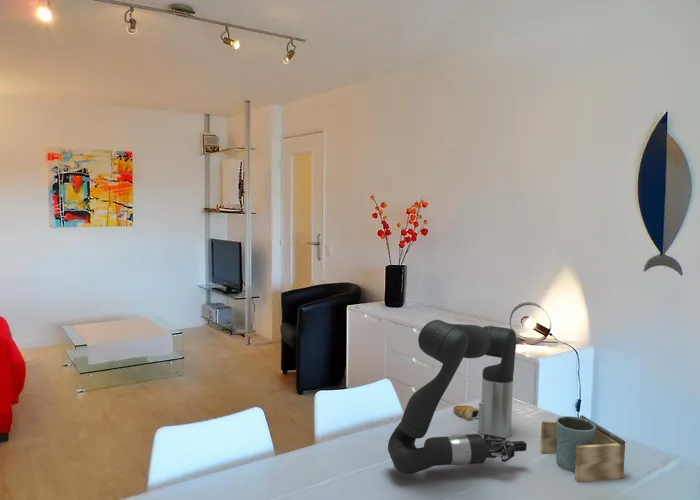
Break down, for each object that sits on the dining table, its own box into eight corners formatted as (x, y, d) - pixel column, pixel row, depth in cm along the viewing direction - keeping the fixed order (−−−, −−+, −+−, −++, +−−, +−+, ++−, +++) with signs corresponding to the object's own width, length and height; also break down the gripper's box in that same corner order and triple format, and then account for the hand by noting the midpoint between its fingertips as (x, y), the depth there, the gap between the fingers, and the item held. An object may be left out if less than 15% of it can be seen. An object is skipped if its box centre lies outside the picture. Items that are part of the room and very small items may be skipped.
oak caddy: (577, 481, 145) (579, 443, 144) (540, 451, 163) (541, 417, 162) (623, 478, 147) (625, 440, 147) (581, 449, 165) (583, 415, 165)
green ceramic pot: (566, 454, 162) (568, 413, 161) (601, 467, 154) (603, 424, 153) (546, 463, 155) (548, 421, 154) (581, 477, 147) (583, 433, 146)
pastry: (448, 413, 193) (448, 402, 193) (462, 410, 197) (462, 399, 197) (469, 422, 186) (469, 410, 185) (483, 418, 190) (483, 407, 189)
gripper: (474, 446, 142) (538, 442, 145) (455, 426, 155) (514, 422, 158) (473, 475, 142) (537, 470, 145) (454, 452, 155) (513, 449, 158)
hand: (525, 445), depth 152 cm, fingers closed
